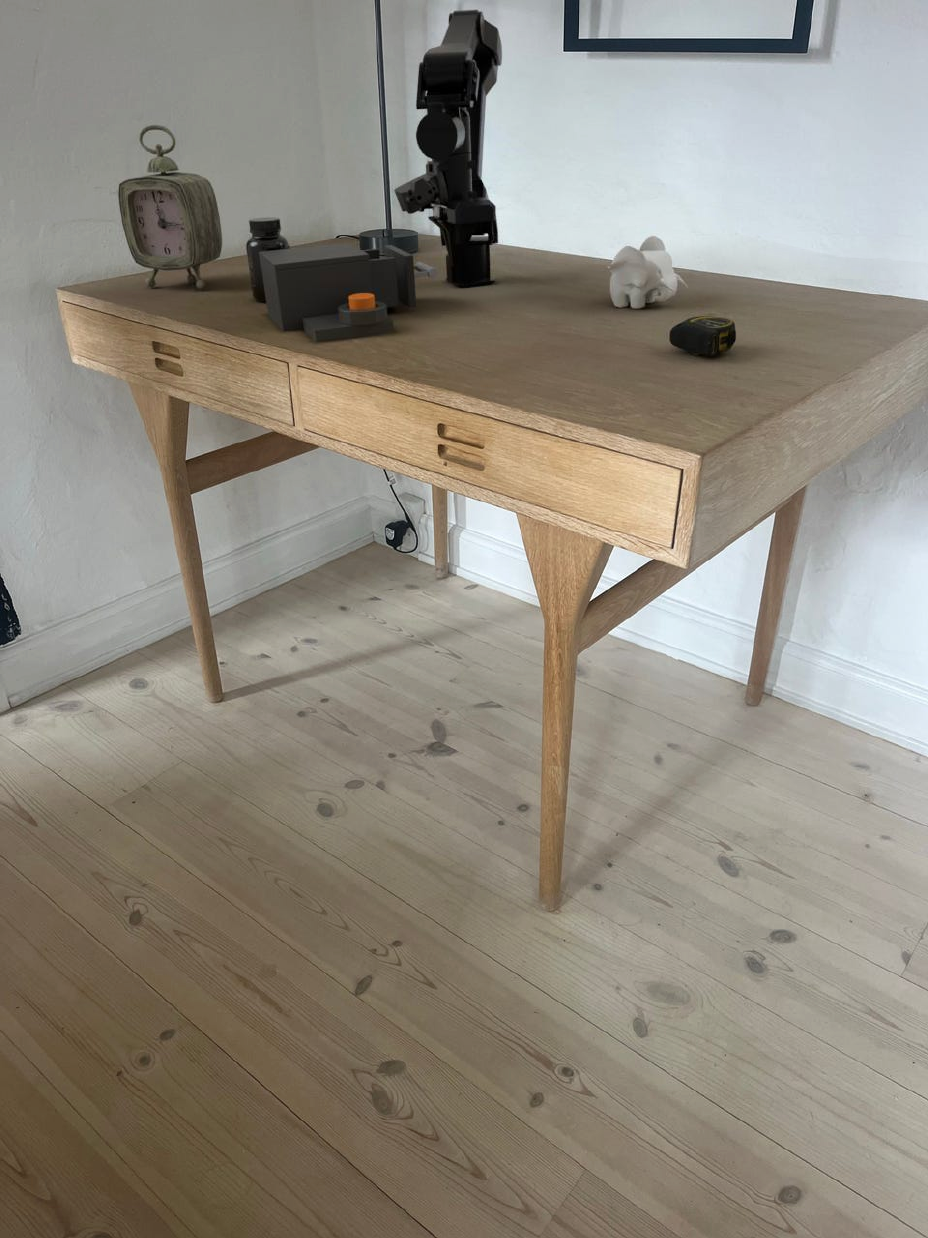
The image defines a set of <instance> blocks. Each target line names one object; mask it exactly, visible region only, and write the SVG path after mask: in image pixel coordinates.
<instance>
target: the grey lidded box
mask: <svg viewBox="0 0 928 1238" xmlns="http://www.w3.org/2000/svg"><path fill="white" fill-rule="evenodd" d="M259 257H260V264H261V270H262V277H263V284H264V291H265V298H266V302H265V305H266V310H267V315H268V316H269V317H270V319H271V320H272V321H273V322H274V323H275V324H276V325H277V326H278V328H280V330H281V331H283V332H289V331H296V330H297V331H298V330H304V329H303V321H302V318H307V317H315V316H323V315H330V314H338V313H339V312H338V308H339V307H340V306H341V305H343V304H347V303H349V299H348V297H349V296H350V295H353V294H358V293H370V294H373V292H372V281H371V270H370V258H369V254H367V253H366V252H364V251H362V249H361V248H359V247H356V246H355V245H353V244H351V243H350V242H341V243H332V244H331V243H330V244H322V245H312V246H303V247H302V246H301V247H293V248H290V249H282V250H273V251H263V252H259Z"/></svg>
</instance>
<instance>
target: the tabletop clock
mask: <svg viewBox="0 0 928 1238" xmlns="http://www.w3.org/2000/svg"><path fill="white" fill-rule="evenodd" d="M157 130H158V131H162V132H165V133H167V134H168V135H169V136H170V138H171V141H172V145H170V147H168V148H165V149H163V146H162V144H160V143H158V144H156V145H155V149H153V148H151V147H148V146H147V145H145V143H144V141H143V140H144V139H143V138H144V136H145V134H147V132H149V131H157ZM139 143H140V145H141V147H142V149H144V150H145V151H146V152H148V153H149V154H152V155H156V156H155V157H153V158H151V159H150V160H149V162H148V165H147V168H146V169H147V170H146V172H147V173H153V174H149V175H142V176H138V177H133V178H127V179H125V180H123V181H121V182H120V183H119V184H118V192H117V193H118V194H117V197H118V206H119V212H120V219H121V224H122V229H123V232H124V237H125V239H126V243H127V246H128V248H129V252H130V255H131V256H132V258H133V260H134V262H135V263H136V264H138V265H139V266H141V267H144V268H146V269H151V270H152V273H151V276H150V277H147V278H146V280H145V284H146V286H147V287H148V288H154V287H155V286H156V279H155V278H156V276H157V274H158V272H159V270H160V271H181V270H186V272H187V276H186V277H187V278H186V279H187V282H188V283H189V284H195V283H196V284H195V286H196V288H197V290H200V291H203V290H205V289H206V287H207V285H206V282H205V281H204V280H203V279H202V277H201V271H200V266H201V265H204V264H206V263H210V262H213V261H215V260H217V259H219V258H220V257H221V254H222V249H223V232H222V225H221V217H220V212H219V206H218V202H217V198H216V197H217V196H216V193H215V190H214V188H213V186H212V183H211V182H210V181H209V180H208V179H207V178H205V177H204V176H202V175H200V174H197V173H190V172H181V171H179V170H180V169H179V167H178V165H177V163H176V162H175V160H173V158H171V157H169V156H166V155H167V154H169V153H171V152H173V151H174V149H175V147H176V138H175V136H174V134H173V132H172V131H171V130H170V129H169V128H167V127H166V126H163V125H159V124H151V125H147V126H145V127H144V128H143V129H141V131H140V133H139ZM164 155H165V156H164ZM191 268H192V269H193V271H194V273H195V274H193V273H192V269H191Z"/></svg>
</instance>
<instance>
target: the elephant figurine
mask: <svg viewBox="0 0 928 1238" xmlns="http://www.w3.org/2000/svg"><path fill="white" fill-rule="evenodd" d="M606 269H608V270H609V271H610V272H611V273H610V274H611V275H610V280H609V294H610V298H611V300H612V303H613V306H614V307H617V308H627V307H628V306H629V303H630V308H631V309H634V310H635V309H636V310H638V309H642V308H645V306H646V304H652V303H653V302H656V301H657V302H659V303H660V302H666V301H668V300H669V299H671V298H673V297H674V296H675V295H676V294H678V293H677V290H678V282H679V283H680V284H681V285H683V287H686V288H687V289H688V285H687V284H686V282H685V281H684V279H682V277H681V276H680V275H679V274H677V273H675V271H674V268H673V259H672V256H671V255H670V253H669V252H667V250H666V245H665V243H664V241H663V240H662V239H661V238H659V236H655V235H651V236H648V237H646V239H644V241H642V243H641V244H640V246H639V249H638V248H635V247H634V246H631V245H626V246H624V247H622V248H621V249H620V250H619V251H617V252H616V255H615V256H614V258H613V260H612V262H611V263H610V265H609V266H607V267H606ZM659 291H660V293H659V294H658V292H659Z"/></svg>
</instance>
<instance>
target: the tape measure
mask: <svg viewBox="0 0 928 1238" xmlns="http://www.w3.org/2000/svg"><path fill="white" fill-rule="evenodd" d="M736 340H737V331H736V324H735V322H734V321H733V320H731V319H730V318H727V317H722V316H715V315H700V316H692V317H689V318H687V319H685V320H683V321H682V322H679V323H677V324H676V325H673V326H672V328H671V329H670V330H669V340H668V341H669V343H670V344H671V345H672V346H673V347H675V348H677V349H680V350H684V351H686V352H691V353H692V354H693V355H694V356H695V355H697V356H698V355H704V356H708V357H712V356H714V355H716V354H720V353H726V352H729V351H730V350H731V349H732V347H733V346H734V344H735V343H736Z"/></svg>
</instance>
